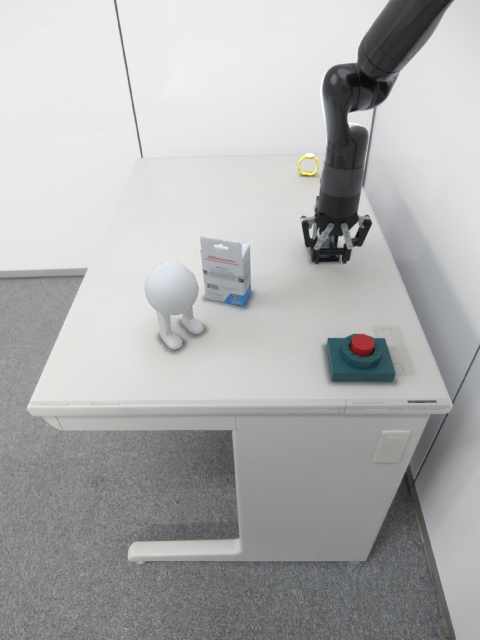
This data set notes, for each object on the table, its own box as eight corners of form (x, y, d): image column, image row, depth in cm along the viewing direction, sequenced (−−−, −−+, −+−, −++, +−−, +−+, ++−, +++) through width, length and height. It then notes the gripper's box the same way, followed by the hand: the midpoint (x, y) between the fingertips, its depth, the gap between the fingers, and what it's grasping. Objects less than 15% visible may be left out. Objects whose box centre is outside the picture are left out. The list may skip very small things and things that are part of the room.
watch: (297, 176, 130) (298, 156, 125) (297, 172, 132) (299, 152, 127) (317, 177, 129) (319, 157, 125) (318, 173, 131) (319, 153, 127)
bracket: (339, 261, 98) (347, 209, 89) (312, 262, 98) (317, 210, 89) (333, 242, 103) (341, 191, 95) (308, 242, 104) (313, 191, 95)
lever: (343, 257, 91) (345, 251, 89) (318, 257, 91) (320, 252, 89) (338, 205, 95) (341, 199, 92) (315, 205, 95) (317, 199, 92)
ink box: (252, 291, 91) (251, 229, 81) (244, 307, 87) (242, 244, 77) (213, 284, 93) (208, 222, 83) (204, 299, 89) (198, 236, 79)
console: (382, 346, 78) (387, 330, 76) (392, 381, 73) (398, 365, 70) (326, 346, 79) (328, 330, 76) (331, 381, 73) (334, 365, 70)
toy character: (176, 357, 78) (164, 291, 68) (144, 333, 82) (129, 268, 72) (213, 331, 82) (207, 265, 72) (181, 309, 87) (171, 245, 77)
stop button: (370, 341, 75) (372, 334, 73) (374, 357, 72) (376, 349, 71) (349, 341, 75) (350, 333, 73) (352, 357, 72) (354, 349, 71)
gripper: (303, 196, 78) (297, 273, 89) (385, 194, 78) (368, 272, 89) (299, 177, 83) (294, 252, 95) (375, 175, 83) (361, 251, 95)
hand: (330, 261), depth 92 cm, fingers closed on lever, 5 cm apart
